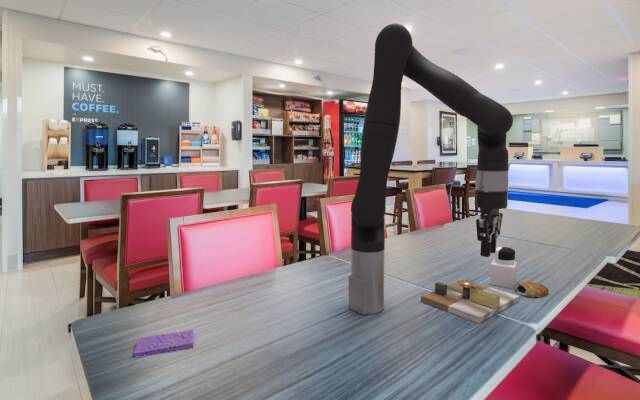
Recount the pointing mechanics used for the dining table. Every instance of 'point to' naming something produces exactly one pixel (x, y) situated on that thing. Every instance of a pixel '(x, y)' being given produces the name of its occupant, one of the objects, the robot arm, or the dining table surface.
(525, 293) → the pastry
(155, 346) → the sponges
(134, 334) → the dining table surface
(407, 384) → the dining table surface
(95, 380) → the dining table surface
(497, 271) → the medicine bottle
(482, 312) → the door board
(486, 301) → the latch bar
